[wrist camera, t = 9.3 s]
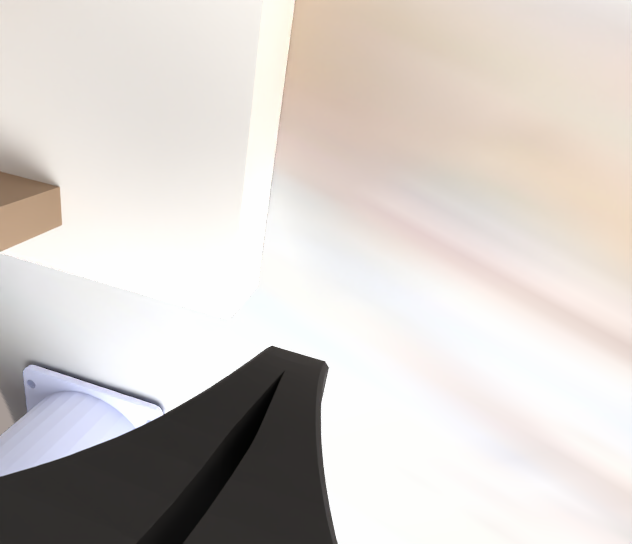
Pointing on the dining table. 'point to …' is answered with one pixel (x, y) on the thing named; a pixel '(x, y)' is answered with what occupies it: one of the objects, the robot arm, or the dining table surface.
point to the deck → (142, 141)
